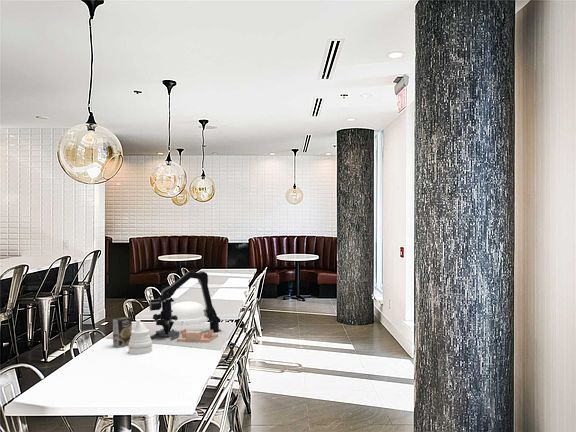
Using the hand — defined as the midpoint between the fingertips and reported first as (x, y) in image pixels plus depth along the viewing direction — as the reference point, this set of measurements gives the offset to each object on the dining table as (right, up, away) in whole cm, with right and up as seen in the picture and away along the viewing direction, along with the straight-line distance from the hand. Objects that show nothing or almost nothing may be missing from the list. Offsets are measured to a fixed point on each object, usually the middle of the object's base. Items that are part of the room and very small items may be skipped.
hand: (167, 334), depth 350 cm
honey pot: (-7, -2, -37) cm, 38 cm away
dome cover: (+3, -2, +49) cm, 50 cm away
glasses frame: (-1, -1, -4) cm, 4 cm away
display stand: (+20, -1, -9) cm, 22 cm away
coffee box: (-22, -3, -22) cm, 31 cm away
